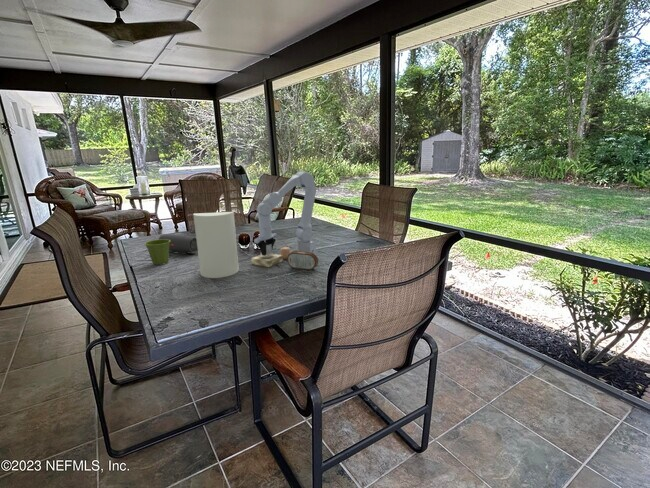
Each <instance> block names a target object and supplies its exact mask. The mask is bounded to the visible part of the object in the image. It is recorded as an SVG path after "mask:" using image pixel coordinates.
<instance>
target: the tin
mask: <svg viewBox="0 0 650 488" xmlns="http://www.w3.org/2000/svg"><path fill="white" fill-rule="evenodd" d="M316 255H317V254H316ZM316 255H315V254H314V253H312V252H303V251H297V250H292V251H290V254H289V255H288V257H287V259H286V260H287V264H288V265H289V266H290V267H291V268H292V269H296V270H297V269H298V270H305V269H306V270H307V271H312V270H314V269H315V268H316V267H317V266H318V263H319V259H318V255H317V256H316Z"/></svg>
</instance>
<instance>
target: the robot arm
mask: <svg viewBox="0 0 650 488" xmlns="http://www.w3.org/2000/svg"><path fill="white" fill-rule="evenodd" d="M299 186H300V187H301V188H302V189H303V190H304V198H303V203H302V209H301V210H302V211H301V215H300V216H301V217H300V221H299V223H297V224H298V225H297V228H296V229H295V231H294V233H295V236H296V237H297V239H296V245H297V246H296V248H297V249H296V251H303V252H312V253H314V254H315V255H316V256H317V257H318V255H317V245H316V242H315V241H312V238H313V227H312V224H311V223H312V216H313V211H314V205H315V198H316V193H317V187H316V184H315V177H314V176H313V175H312V174H311V172H307V171H301V170H300V171H297V172H296V173H295V174H293V175H292V176H291V177H290V178H289V179H288V180H287V182H285V184H284V185H282V187H281V188H280V189H278V190H277V191H273V192H270V193H269V196H267V198H266V199H263V200H262V202H259V204H258V205H257V207H256V212H257V213H258V226H259V227H258V229H259V230H258V231H259V235H258V237H256V238H254V239H253V241H254V244H256V245H257V246H258V248H259V250H260V255H261V254H262V255H264V256H265V255H266V246H267V243H268V244H272V250H274V249H273V248H274V245H275V243H276V238H277V236H278V234H277V233H276V232H275V233H274V232H273V233H272V221H271V219H272V218H271V214H272V211H273V209H274V208H276V207H277V206H278V205H279V204H280V203H281V202H282V201H283V197H284V196H285V195H286V194H288V192H290V191H291V190H292V189H293V188H294V187H299Z"/></svg>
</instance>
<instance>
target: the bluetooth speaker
mask: <svg viewBox="0 0 650 488" xmlns="http://www.w3.org/2000/svg"><path fill="white" fill-rule="evenodd" d="M159 239H168V240H170V243H169V251H170V252H172V253H173V252H178V253H177V254H181V253H187V254H190V253H191V254H193V253H196V252H197V253H198V248H197V240H196V236H195V237H194V236H189V235H183V234H181V235H180V234H162V235H160V236H159V238H158V240H159Z"/></svg>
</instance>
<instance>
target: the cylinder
mask: <svg viewBox="0 0 650 488" xmlns="http://www.w3.org/2000/svg"><path fill="white" fill-rule="evenodd" d="M192 215H193V222H194V223H193V225H194V230H195V231H194V232H195V238H196V240H197V248H198V251H197V253H198V263H199V271H200V275H201V277H203V278H210V279H219V278H227V277H230V276H233V275H235V274H237V273H238V272H239V271H240V267H239V266H240V265H239V258H238V255H239V254H238V245H237V237H236V236H237V235H236V233H237V232H236V223H235V213H234V211H222V212H221V211H219V212H201V213H200V212H199V213H193V214H192Z"/></svg>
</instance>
